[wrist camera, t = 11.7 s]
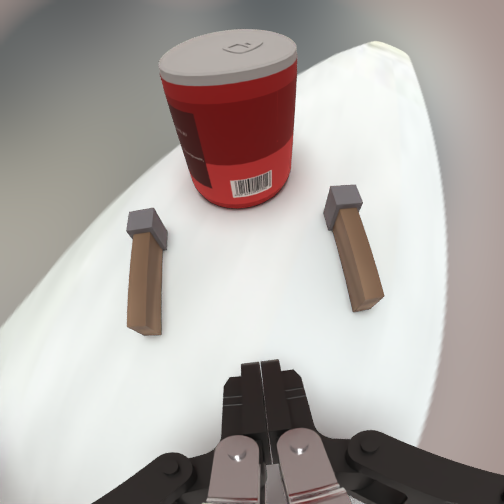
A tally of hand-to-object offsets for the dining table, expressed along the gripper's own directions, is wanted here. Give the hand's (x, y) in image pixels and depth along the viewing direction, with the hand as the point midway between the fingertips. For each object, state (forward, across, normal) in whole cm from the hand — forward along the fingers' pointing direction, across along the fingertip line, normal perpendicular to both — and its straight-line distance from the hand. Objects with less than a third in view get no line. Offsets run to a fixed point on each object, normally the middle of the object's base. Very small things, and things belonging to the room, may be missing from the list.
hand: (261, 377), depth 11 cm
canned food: (+15, 0, -7) cm, 16 cm away
